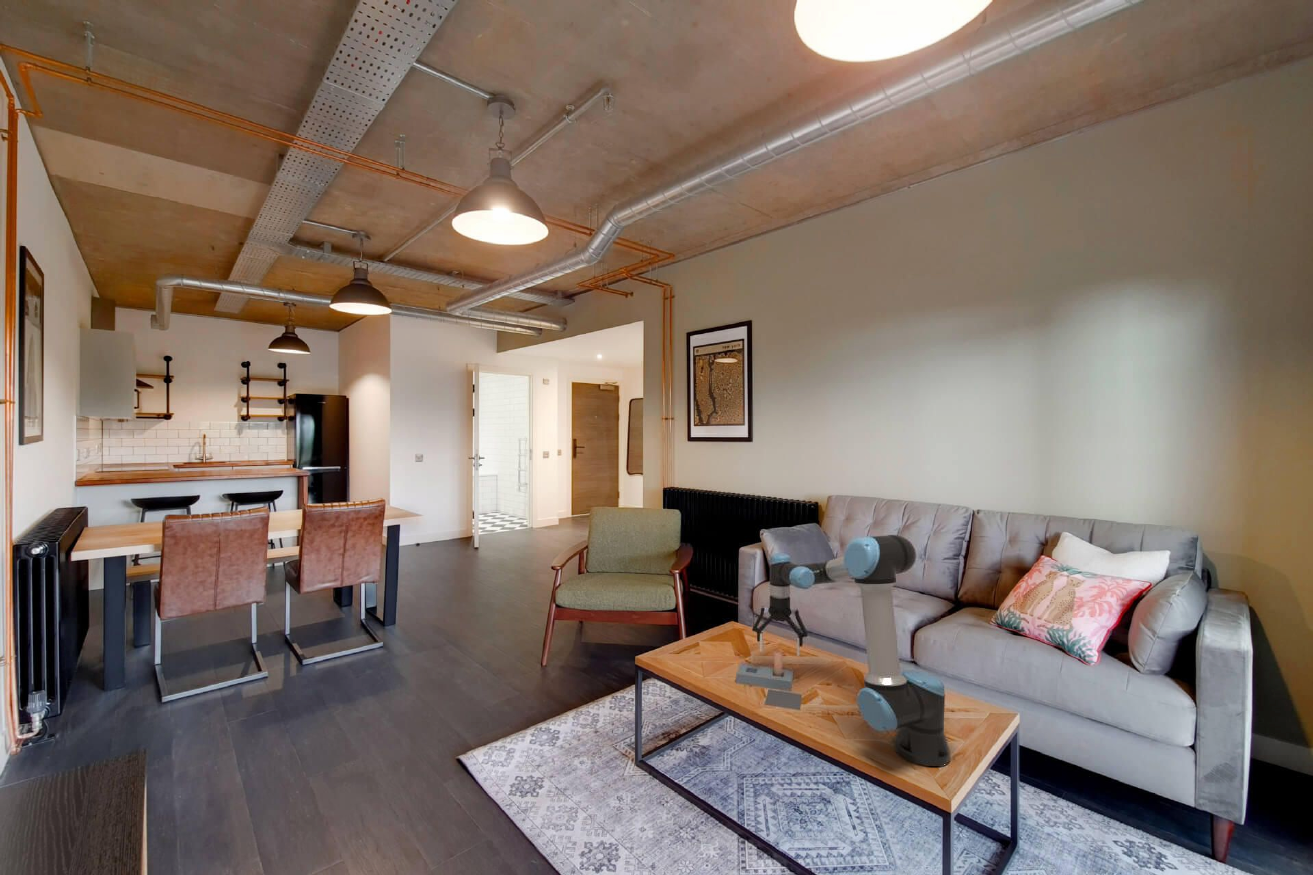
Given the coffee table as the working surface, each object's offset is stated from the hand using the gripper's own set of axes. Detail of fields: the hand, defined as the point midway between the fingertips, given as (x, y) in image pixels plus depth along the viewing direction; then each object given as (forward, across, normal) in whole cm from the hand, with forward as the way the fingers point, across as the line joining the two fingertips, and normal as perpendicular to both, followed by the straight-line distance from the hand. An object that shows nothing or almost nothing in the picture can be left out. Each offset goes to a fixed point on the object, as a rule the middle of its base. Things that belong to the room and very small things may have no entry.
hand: (779, 652), depth 211 cm
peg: (+12, +1, 0) cm, 12 cm away
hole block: (+12, +5, 0) cm, 13 cm away
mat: (+12, -3, +12) cm, 17 cm away
